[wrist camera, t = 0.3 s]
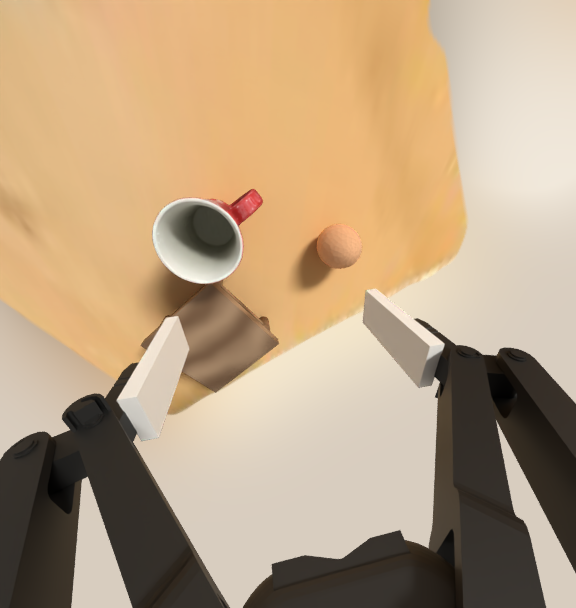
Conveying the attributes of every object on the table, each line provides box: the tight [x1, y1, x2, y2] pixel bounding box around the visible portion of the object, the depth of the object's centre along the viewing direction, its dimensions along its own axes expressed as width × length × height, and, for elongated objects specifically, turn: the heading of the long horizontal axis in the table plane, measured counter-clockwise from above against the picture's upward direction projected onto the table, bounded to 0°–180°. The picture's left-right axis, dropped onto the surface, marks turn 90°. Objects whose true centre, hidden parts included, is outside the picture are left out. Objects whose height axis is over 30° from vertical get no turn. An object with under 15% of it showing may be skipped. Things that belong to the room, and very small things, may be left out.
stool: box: [141, 280, 279, 393], centre depth 40 cm, size 15×15×8 cm
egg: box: [317, 224, 362, 269], centre depth 36 cm, size 7×7×9 cm
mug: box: [152, 189, 263, 284], centre depth 30 cm, size 13×9×14 cm
